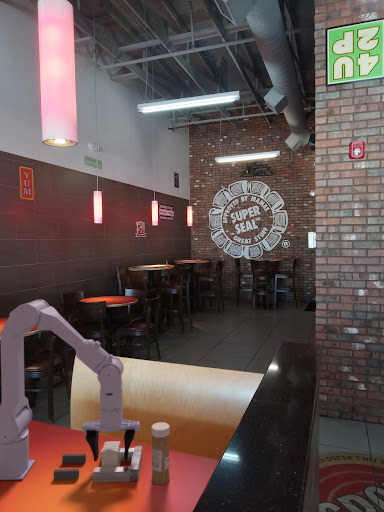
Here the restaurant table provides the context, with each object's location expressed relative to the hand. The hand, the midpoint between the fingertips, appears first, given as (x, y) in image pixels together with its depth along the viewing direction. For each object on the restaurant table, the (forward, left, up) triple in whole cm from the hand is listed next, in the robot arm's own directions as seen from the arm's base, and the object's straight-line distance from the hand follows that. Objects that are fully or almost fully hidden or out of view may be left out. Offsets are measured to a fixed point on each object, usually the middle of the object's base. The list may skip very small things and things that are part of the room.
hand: (111, 458), depth 96 cm
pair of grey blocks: (-10, 0, -3) cm, 11 cm away
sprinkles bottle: (+13, -5, -3) cm, 14 cm away
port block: (+2, 0, -3) cm, 3 cm away
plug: (0, 0, -3) cm, 3 cm away
